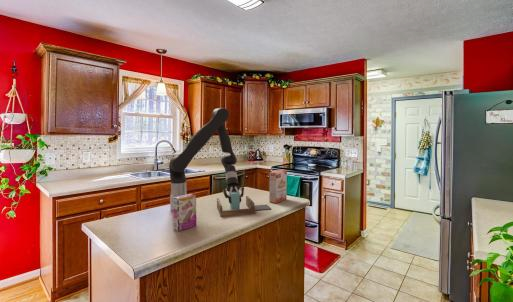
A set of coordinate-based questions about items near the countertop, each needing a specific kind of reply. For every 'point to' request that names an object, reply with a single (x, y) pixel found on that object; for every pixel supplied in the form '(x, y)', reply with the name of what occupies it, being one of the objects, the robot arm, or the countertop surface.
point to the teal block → (235, 200)
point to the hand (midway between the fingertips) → (235, 202)
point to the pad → (262, 207)
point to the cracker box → (278, 186)
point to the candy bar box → (184, 212)
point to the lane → (239, 211)
